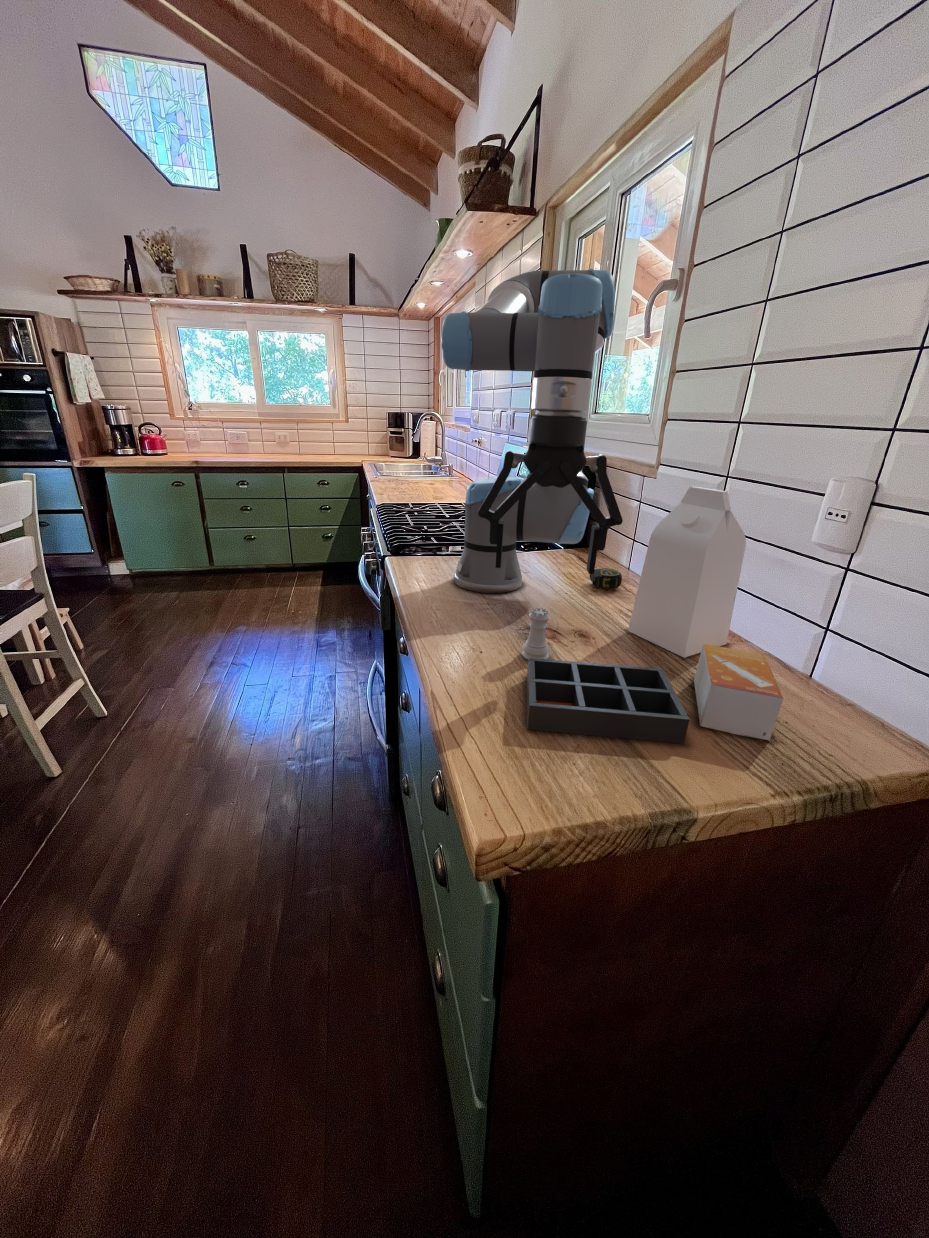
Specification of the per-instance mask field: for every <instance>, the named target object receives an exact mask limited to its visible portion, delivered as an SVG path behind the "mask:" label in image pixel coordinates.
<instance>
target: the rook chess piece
mask: <svg viewBox="0 0 929 1238" xmlns="http://www.w3.org/2000/svg"><path fill="white" fill-rule="evenodd" d="M541 609H542V610H541ZM528 618H529V619H530V622H529V625H528V626H529V633H528V636H527V639H526V640H525V642H524V643H523V645H522V651H521V655H522V657H523V659H525V660H527V661H529V658H535V659H548V658H549V657H550V653H549V652H550V647H549V645H548V641H547V637H546V635H547V634H546V631H547V630H546V629H547V628H548V624H547V622H548V620H549V619H550V614H549V610H548V609H546V608H541V607H533V608H532V609H531V611H530V613H529V614H528Z"/></svg>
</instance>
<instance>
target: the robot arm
mask: <svg viewBox="0 0 929 1238" xmlns="http://www.w3.org/2000/svg"><path fill="white" fill-rule="evenodd" d="M615 291H616V290H615V281H614V277H613V274H612V273H611V272H610V271H608V270H605V269H594V268H588V269H570V270H569V269H568V270H567V269H560V270H559V269H558V270H554V269H553V270H550V269H549V270H543V269H538V270H537V269H536V270H532V271H527V272H522V273H520V274H517V275H514V276H513V277H510V278H508V279H506V280H504V281H502V282H500V283H499V284H498V285H497V286H495V287H494V288H493V289H492V291H491V292H490V294H489V296H488V297H487V301H486V302H485V303H484V304H483V305H481V306H480V307H479V308H477V310H475V311H474V312H469V311H468V312H467V311H465V310H463V311H461V312H451V313H448V314H447V315H445V317H444V319H443V322H442V326H441V335H440V337H441V338H440V339H441V341H440V343H441V355H442V359H443V362H444V364H445V367H447V368H448V369H450V370H459V371H465V372H470V371H496V372H497V371H499V372H500V371H501V372H502V371H503V372H504V371H507V372H508V371H509V372H532V373H533V372H534V373H533V374H534V375H533V381H532V396H531V407H530V409H531V411H533V412H535V413H534V415H532V416H531V418H530V419H529V420H530V421H529V430H528V446H527V450H526V452H525V453H521V452H514V451H513V450H511V449H510V450H507V451H506V452H505V454H504V459H503V464H502V465H503V466H502V468H501V470H500V471H499V474H498V476H497V477H490V478H489V477H488V478H482V479H478V480H473V481H471V482H470V483H469V484H467V487H466V493H465V502H464V503H463V504H464V532H463V533H464V536H463V540H464V541H463V550H462V554H461V556H460V558H459V560H458V561H457V564H456V570H455V572H454V583H455V585H457V586H458V587H460V588H462V589H464V590H468V591H472V592H477V593H485V594H500V593H508V592H509V593H510V592H512V591H516V590H518V589H519V588H520V587H521V586H522V580H523V574H522V571H521V567H520V562H519V559H518V555H517V542H518V541H522V542H523V541H524V542H536V543H548V544H556V545H561V544H563V545H575V544H578V543H580V542H581V541H582V539H583V538H584V535H585V531H586V528H587V524H588V519H589V516H590V515H592V517H593V518H594V520H595V521H596V523H597V525H592V526H591V531H590V538H589V539H590V540H589V546H588V554H587V561H586V571H587V573H588V574H589V575H590V574H594V570H595V569H596V562H597V555H598V554H597V553H598V551H600V552H603V551H604V550H605V548H606V543H607V537H608V530H609V529H610V528H611V527H615V526H621V525H622V524H623V517H622V514H621V511H620V507H619V505H618V503H617V499H616V496H615V494H614V493H615V492H614V491H613V487H612V485H611V482H610V479H609V476H608V472H607V467H608V466H607V465H608V458H607V457H606V456H605V454H604V455H603V454H600V453H599V454H597V455H591V456H586V455H585V447H586V437H587V429H588V420H589V412H590V411H589V410H590V403H591V393H592V385H593V375H594V368H595V357H596V354H597V353H598V352H599V351H600V350H601V349H602V348H604V344H605V339H609V338H611V337H612V334H613V331H614V323H615V303H616V301H615V299H616V297H615V296H616V295H615V294H616V293H615ZM520 463H523V464H524V466H525V467H526V469H527V471H528V472H529V473H528V474H527V476H525V477H524V478H523V480H522V478H521V477H518V476H510V474H511V471H512V469H517V468H518V466H519V464H520ZM585 466H588V467H589V469H590V471H591V472H593V473H595V477H596V480H597V483H598V486H599V489H600V491H601V496H602V497H603V499H604V503H605V506H606V508H607V511H608V514H609V516H605V515H604V514H603V513H602V511H601V510H600V508H599V507H598V505H597V503H596V502H595V501H594V499H593V498H594V495H595V490H594V489H592V488H591V487H589V485H588V484H589V479H588V478H587V476H586V475H585V474H584V472H583V469H584V468H585ZM588 487H589V488H588Z"/></svg>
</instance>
